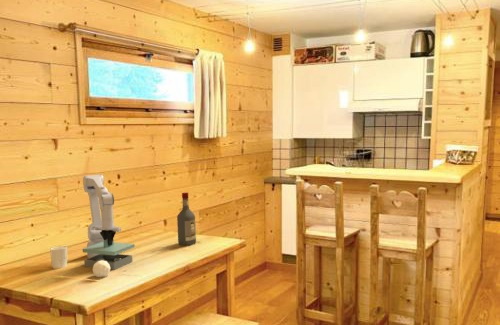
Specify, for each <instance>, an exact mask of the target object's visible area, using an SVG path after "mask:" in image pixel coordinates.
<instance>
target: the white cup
mask: <svg viewBox="0 0 500 325" xmlns="http://www.w3.org/2000/svg"><path fill="white" fill-rule="evenodd" d="M49 251H50V260H51V266H52V267H51V268H52V269H62V268H66V267H67V266H68V246H67V245H57V246H53V247H50V248H49Z"/></svg>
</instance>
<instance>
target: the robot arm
mask: <svg viewBox="0 0 500 325" xmlns="http://www.w3.org/2000/svg"><path fill="white" fill-rule="evenodd" d="M104 183H105V179H104V175H103V174H101V173H100V174H94V175H93V174H91V175H85V174H84V175H83V177H82V184H83V186H82V187H83V190H84V192H85V193H87V195H88V200H89V207H90V208H89V209H90V214H91V224H89V225H88V227H87V237H88V238H87V239H88V241H87V244H86V247H89V246H92V245H95V244H98V243H101V242H103V241H104V240H107V239H108V246H110V245H112V242H113V240H114V238H115V235H116V233H120V232H122V227H120V226H115V223H114V207H113V206H114V204H115V196H114V194H113V193H111V192H109V190H108V188H107V187H106V186H104ZM96 255H99V254H94V253H86V258H91V257H94V256H96Z"/></svg>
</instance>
